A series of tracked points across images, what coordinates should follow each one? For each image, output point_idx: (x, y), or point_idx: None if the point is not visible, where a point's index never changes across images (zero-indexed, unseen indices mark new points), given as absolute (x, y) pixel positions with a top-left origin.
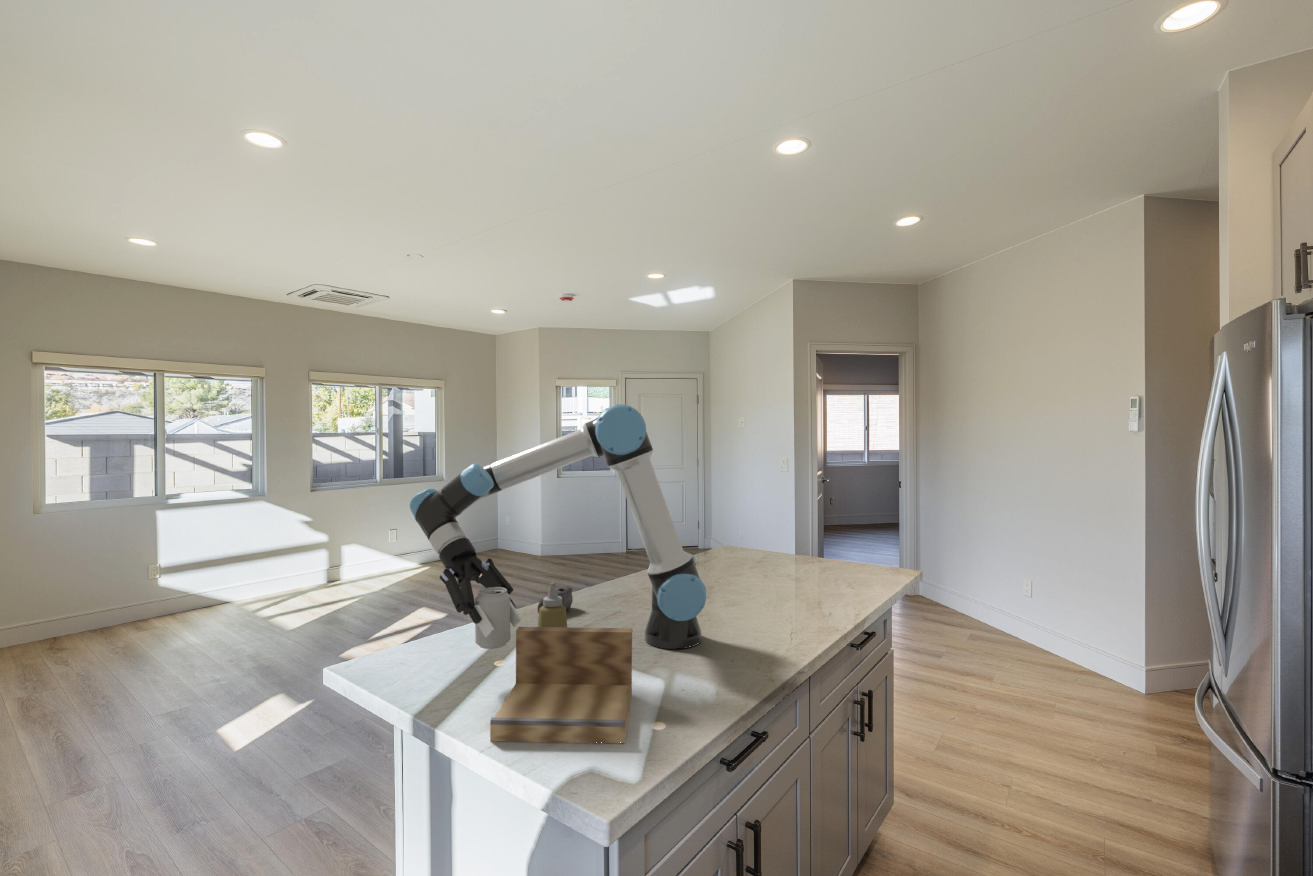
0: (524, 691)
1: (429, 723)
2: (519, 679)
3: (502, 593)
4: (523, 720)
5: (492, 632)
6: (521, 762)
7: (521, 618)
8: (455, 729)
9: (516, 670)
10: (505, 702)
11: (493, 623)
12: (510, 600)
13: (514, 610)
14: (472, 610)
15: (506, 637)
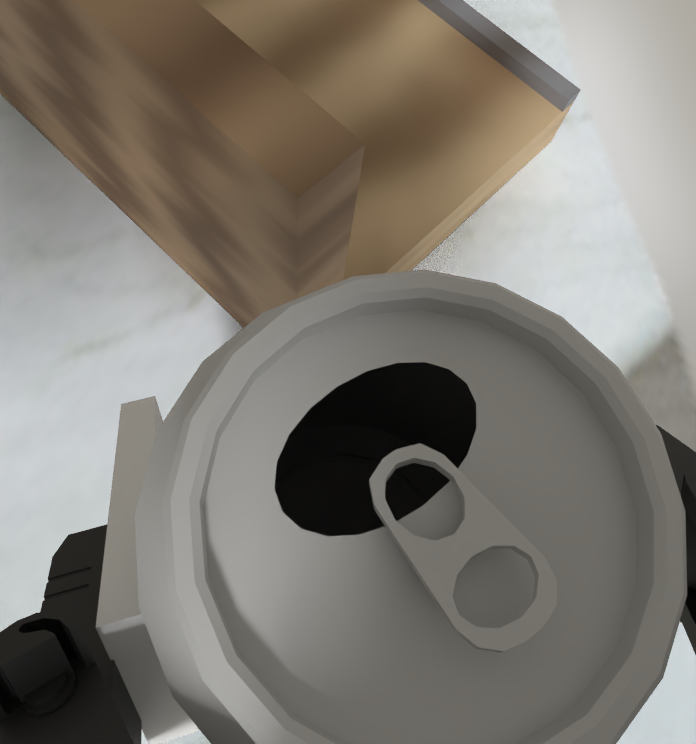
0: (352, 223)
1: (687, 375)
2: None
3: (367, 275)
4: (490, 22)
5: (426, 417)
6: (522, 12)
7: (125, 406)
8: (619, 275)
9: None
10: (461, 195)
11: (436, 389)
12: (67, 612)
13: (144, 455)
14: (691, 457)
15: (301, 422)
